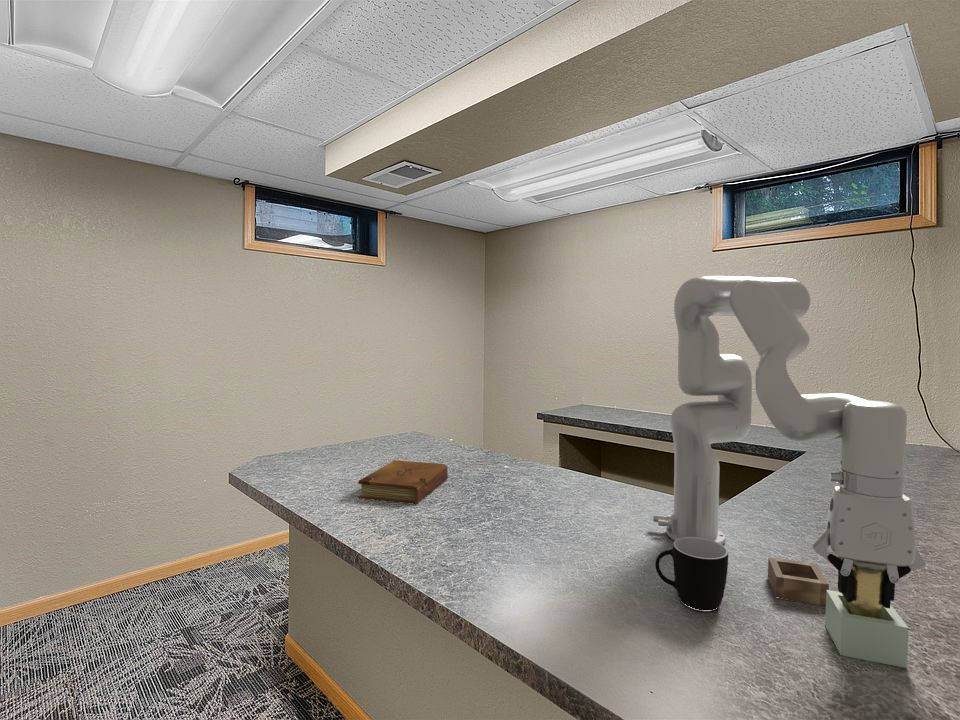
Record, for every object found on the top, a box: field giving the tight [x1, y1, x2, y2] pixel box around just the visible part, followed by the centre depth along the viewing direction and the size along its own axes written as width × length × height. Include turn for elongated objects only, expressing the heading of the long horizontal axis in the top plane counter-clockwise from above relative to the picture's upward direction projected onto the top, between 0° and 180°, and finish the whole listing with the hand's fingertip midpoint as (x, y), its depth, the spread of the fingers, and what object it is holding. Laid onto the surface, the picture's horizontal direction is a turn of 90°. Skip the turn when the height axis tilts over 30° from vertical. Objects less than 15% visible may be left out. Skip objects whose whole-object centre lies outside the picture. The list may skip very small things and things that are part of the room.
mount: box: [767, 556, 830, 607], centre depth 92 cm, size 8×8×4 cm
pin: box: [848, 560, 887, 619], centre depth 76 cm, size 5×5×12 cm
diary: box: [357, 459, 449, 505], centre depth 153 cm, size 23×19×6 cm
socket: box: [824, 589, 910, 669], centre depth 77 cm, size 8×8×6 cm
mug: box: [654, 537, 729, 610], centre depth 90 cm, size 12×9×10 cm
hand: (864, 599), depth 77 cm, fingers closed on pin, 4 cm apart
